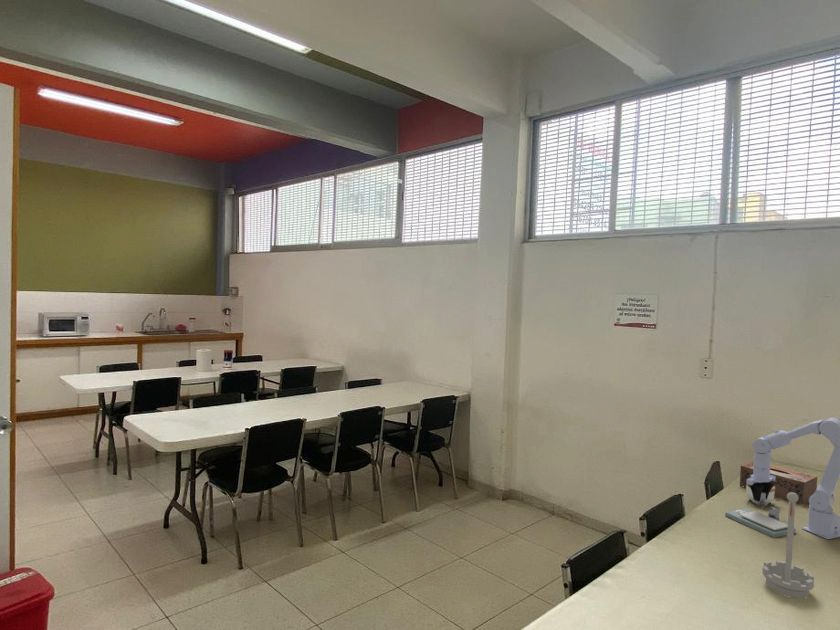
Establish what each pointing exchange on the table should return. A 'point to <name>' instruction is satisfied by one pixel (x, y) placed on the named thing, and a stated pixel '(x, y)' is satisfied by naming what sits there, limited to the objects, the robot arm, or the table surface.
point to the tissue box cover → (785, 482)
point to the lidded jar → (769, 498)
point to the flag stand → (788, 566)
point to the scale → (759, 522)
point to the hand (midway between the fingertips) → (760, 499)
